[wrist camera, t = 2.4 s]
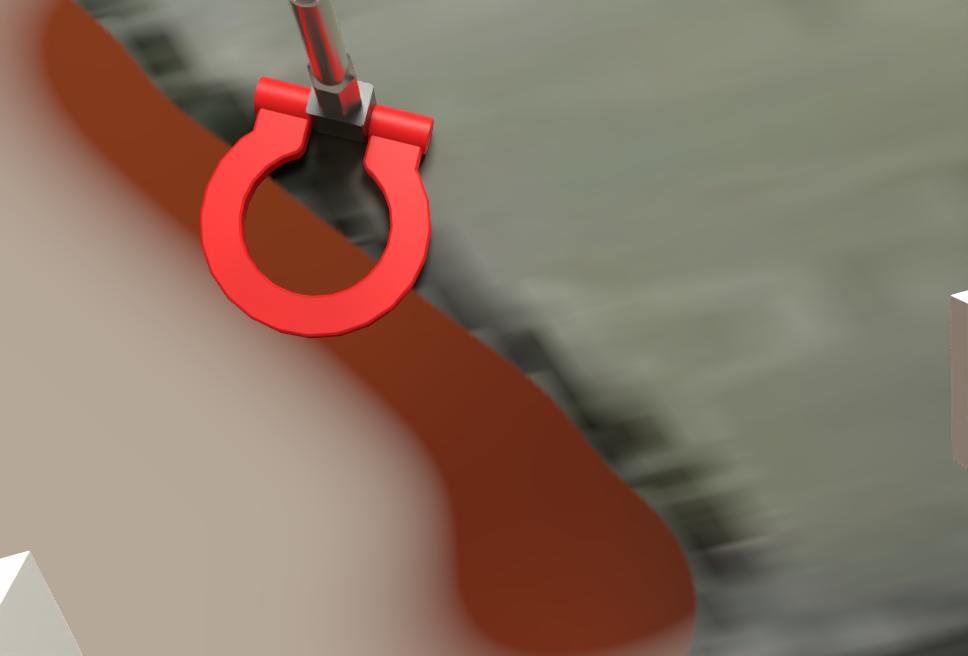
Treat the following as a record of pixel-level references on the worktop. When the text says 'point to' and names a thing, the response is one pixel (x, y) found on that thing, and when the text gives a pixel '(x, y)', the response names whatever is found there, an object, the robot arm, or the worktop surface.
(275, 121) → the tow hook
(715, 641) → the worktop surface
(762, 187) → the worktop surface
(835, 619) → the worktop surface
